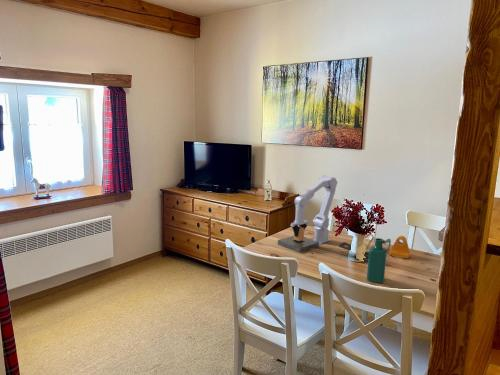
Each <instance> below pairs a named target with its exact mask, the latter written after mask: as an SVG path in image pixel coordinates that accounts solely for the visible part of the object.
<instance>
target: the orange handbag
mask: <svg viewBox="0 0 500 375" xmlns="http://www.w3.org/2000/svg"><path fill="white" fill-rule="evenodd" d="M400 240H401V241H402V242H401V241H400ZM388 251H389V255H390V256H392V257H393V258H396V257H397V258H396V259H401V258H403V259H409V257H410V255H411V251H410V248H409V244H408V240H407V238H406V236H404V235H399V236H397V238H396V240H395V241H394V243H393V245H392V247H391V249H389V250H388Z"/></svg>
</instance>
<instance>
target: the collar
mask: <svg viewBox="0 0 500 375" xmlns="http://www.w3.org/2000/svg"><path fill="white" fill-rule="evenodd" d="M277 245H278V246H281V247H283V248H285V249H288V250H291V251H294V252H295V253H304V252H307V251H310V250H313V249H316V248H319V247H320V244H319V242H317V241H314V240H313V239H311V238H309V237H305V236H304V240H301V241H297V240H295V239H294V235H292V236H287V237H283V238H281V239H277Z"/></svg>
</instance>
